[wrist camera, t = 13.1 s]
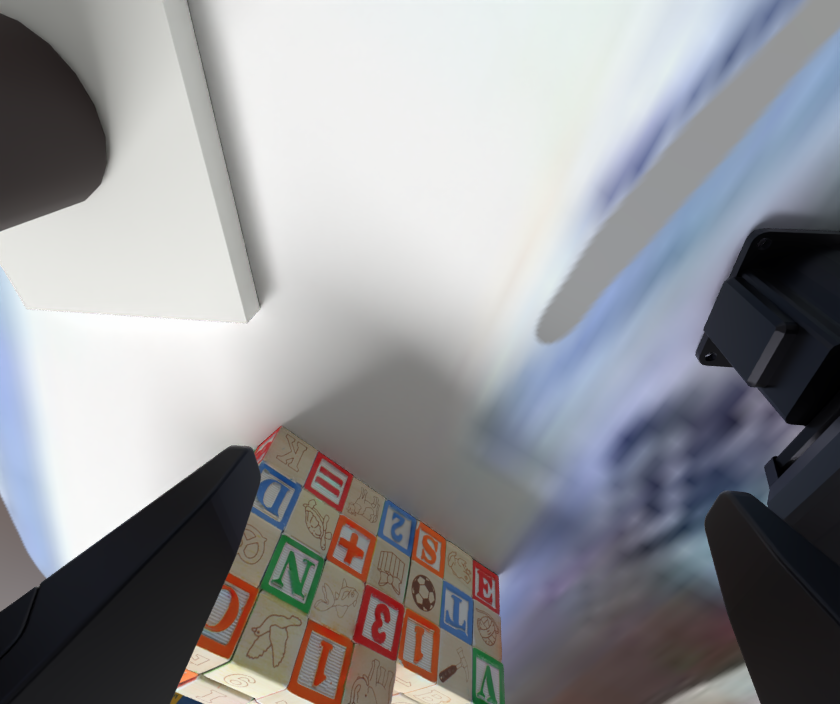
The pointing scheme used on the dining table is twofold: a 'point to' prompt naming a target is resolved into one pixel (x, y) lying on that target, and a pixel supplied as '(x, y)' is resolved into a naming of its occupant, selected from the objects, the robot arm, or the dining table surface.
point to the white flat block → (136, 176)
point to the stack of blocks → (344, 600)
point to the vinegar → (43, 130)
